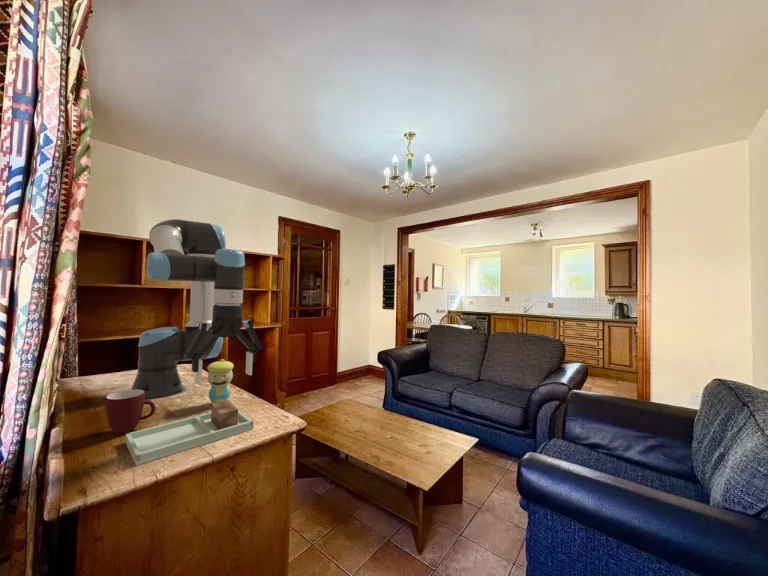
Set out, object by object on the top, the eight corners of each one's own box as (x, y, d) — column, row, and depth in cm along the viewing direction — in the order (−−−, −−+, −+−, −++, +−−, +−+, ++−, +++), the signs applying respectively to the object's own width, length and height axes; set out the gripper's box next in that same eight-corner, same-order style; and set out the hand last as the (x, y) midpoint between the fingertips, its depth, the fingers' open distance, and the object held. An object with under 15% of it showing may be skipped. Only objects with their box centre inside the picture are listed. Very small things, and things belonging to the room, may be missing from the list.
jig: (125, 442, 77) (125, 433, 77) (233, 414, 96) (233, 407, 96) (136, 465, 68) (136, 455, 68) (253, 428, 87) (253, 421, 87)
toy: (204, 410, 98) (205, 363, 98) (207, 400, 107) (209, 357, 107) (231, 407, 102) (233, 361, 102) (232, 398, 110) (234, 356, 110)
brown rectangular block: (219, 432, 83) (220, 413, 83) (211, 420, 89) (211, 403, 89) (237, 427, 86) (238, 409, 86) (227, 416, 92) (228, 400, 92)
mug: (153, 420, 90) (154, 386, 90) (155, 430, 84) (157, 393, 84) (104, 429, 83) (106, 392, 83) (103, 441, 77) (105, 401, 77)
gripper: (181, 306, 76) (177, 391, 76) (275, 304, 94) (272, 373, 95) (172, 303, 81) (169, 383, 81) (264, 302, 99) (261, 368, 100)
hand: (224, 378), depth 88 cm, fingers open, 13 cm apart
